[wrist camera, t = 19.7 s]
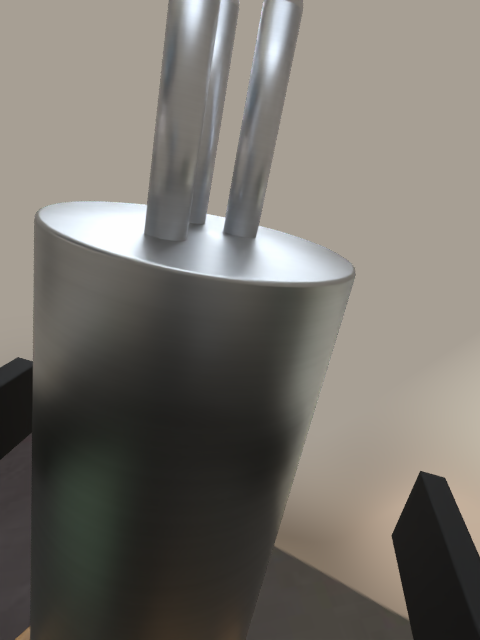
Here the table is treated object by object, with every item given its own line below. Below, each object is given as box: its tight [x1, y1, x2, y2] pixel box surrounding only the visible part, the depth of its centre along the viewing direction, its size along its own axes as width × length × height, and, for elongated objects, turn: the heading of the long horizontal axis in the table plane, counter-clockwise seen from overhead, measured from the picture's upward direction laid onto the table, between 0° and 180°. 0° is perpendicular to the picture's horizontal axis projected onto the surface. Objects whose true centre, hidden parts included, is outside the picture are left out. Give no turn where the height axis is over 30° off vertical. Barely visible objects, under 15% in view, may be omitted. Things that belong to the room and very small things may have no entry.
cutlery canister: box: [30, 0, 356, 640], centre depth 12 cm, size 7×7×26 cm
